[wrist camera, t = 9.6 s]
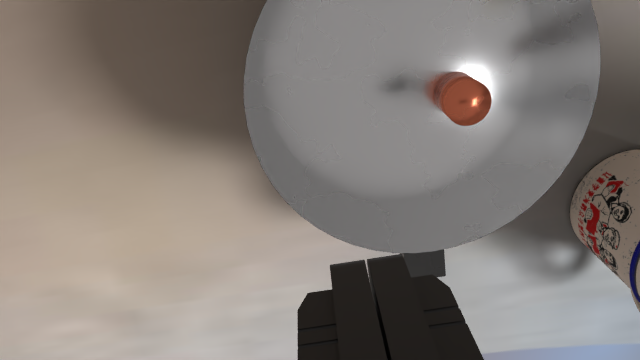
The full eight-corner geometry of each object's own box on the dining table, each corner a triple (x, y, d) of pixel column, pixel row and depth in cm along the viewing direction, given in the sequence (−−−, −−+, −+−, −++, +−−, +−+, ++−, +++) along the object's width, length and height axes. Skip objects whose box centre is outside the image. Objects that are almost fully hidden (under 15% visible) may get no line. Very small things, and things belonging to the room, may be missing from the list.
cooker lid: (596, -130, 22) (643, -145, 19) (579, 216, 28) (612, 246, 25) (210, -67, 22) (197, -72, 19) (279, 263, 29) (277, 297, 26)
